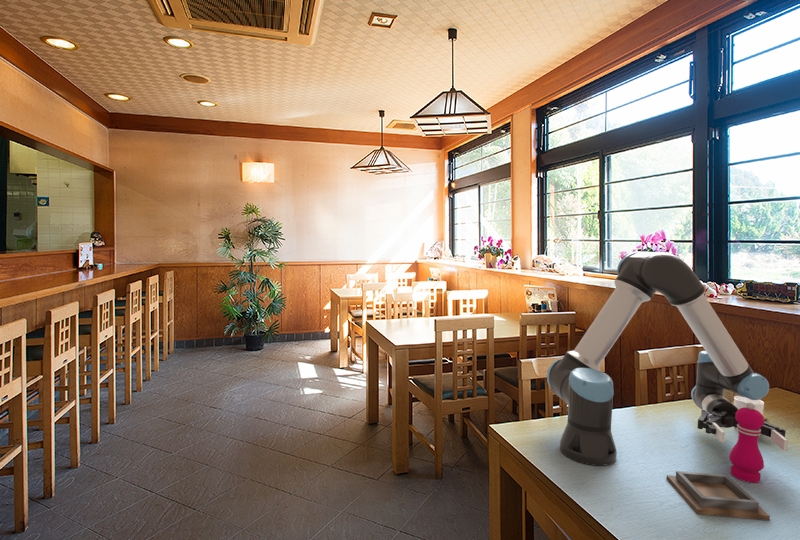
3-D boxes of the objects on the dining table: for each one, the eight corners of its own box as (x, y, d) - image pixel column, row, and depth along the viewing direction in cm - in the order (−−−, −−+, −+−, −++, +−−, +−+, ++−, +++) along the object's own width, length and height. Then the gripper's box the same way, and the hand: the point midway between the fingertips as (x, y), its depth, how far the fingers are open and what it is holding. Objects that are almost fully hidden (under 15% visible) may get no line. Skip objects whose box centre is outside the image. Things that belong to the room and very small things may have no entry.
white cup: (767, 435, 143) (769, 405, 143) (739, 433, 145) (741, 403, 144) (753, 425, 151) (755, 396, 150) (727, 423, 153) (729, 394, 152)
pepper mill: (728, 466, 123) (734, 395, 122) (762, 475, 118) (768, 402, 117) (727, 477, 117) (732, 403, 116) (762, 487, 113) (768, 410, 111)
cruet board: (697, 513, 101) (698, 501, 101) (666, 478, 116) (667, 467, 116) (769, 520, 99) (770, 507, 99) (728, 483, 114) (729, 472, 114)
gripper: (769, 429, 131) (812, 463, 111) (673, 417, 138) (696, 447, 118) (771, 404, 131) (814, 434, 110) (674, 393, 138) (698, 420, 118)
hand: (753, 441), depth 114 cm, fingers open, 13 cm apart
